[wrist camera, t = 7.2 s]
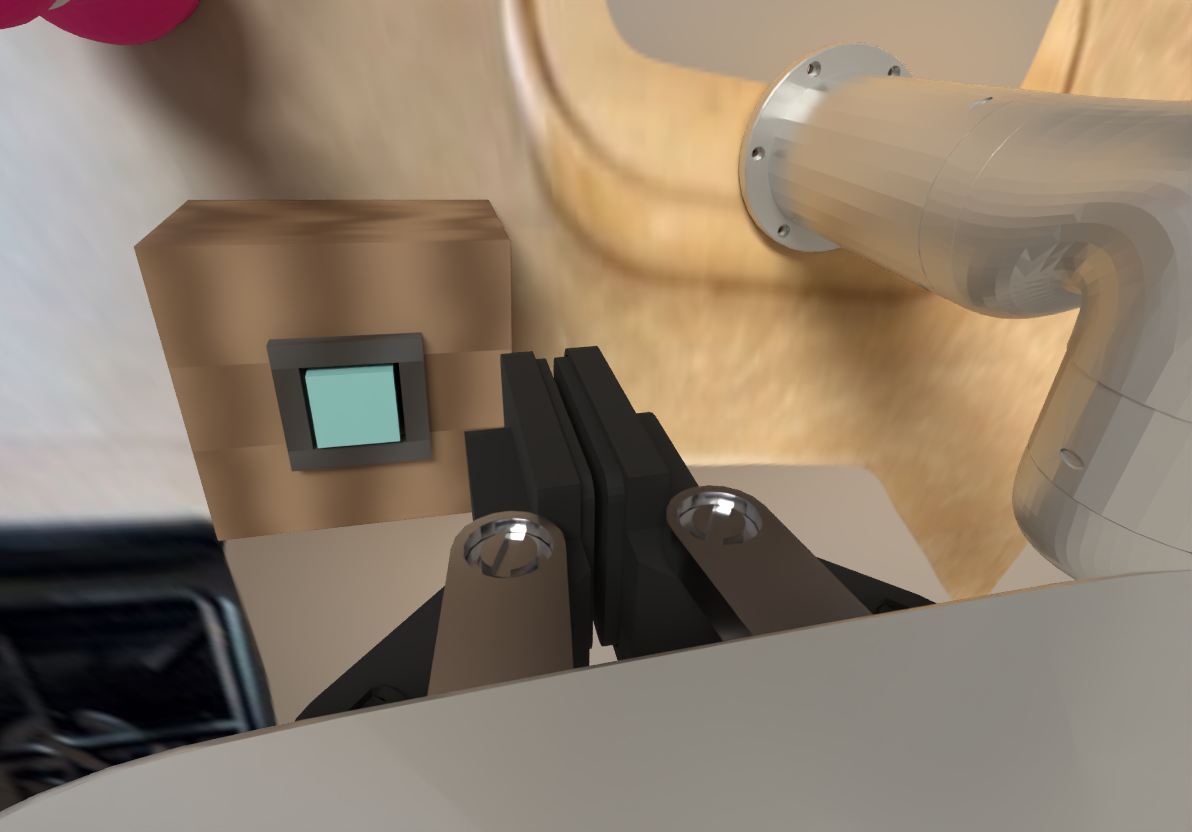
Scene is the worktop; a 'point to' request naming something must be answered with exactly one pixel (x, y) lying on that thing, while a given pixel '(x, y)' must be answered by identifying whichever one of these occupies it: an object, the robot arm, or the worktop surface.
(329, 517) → the socket block
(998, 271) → the robot arm
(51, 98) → the worktop surface
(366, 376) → the peg
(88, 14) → the pepper mill
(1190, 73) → the worktop surface
